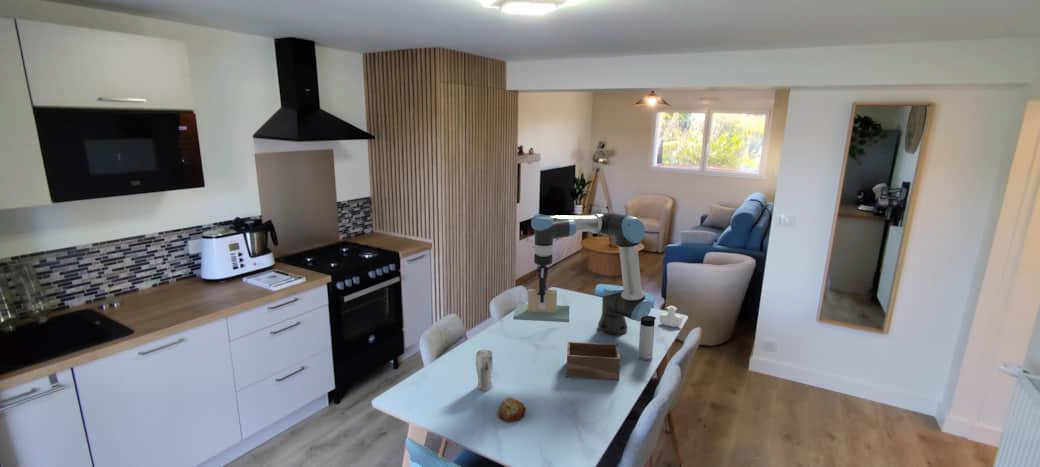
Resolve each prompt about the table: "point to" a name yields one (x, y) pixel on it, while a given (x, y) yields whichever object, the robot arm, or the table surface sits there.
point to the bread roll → (511, 410)
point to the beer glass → (484, 369)
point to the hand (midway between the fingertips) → (542, 307)
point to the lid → (536, 314)
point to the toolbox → (593, 361)
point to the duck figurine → (670, 318)
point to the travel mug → (646, 337)
